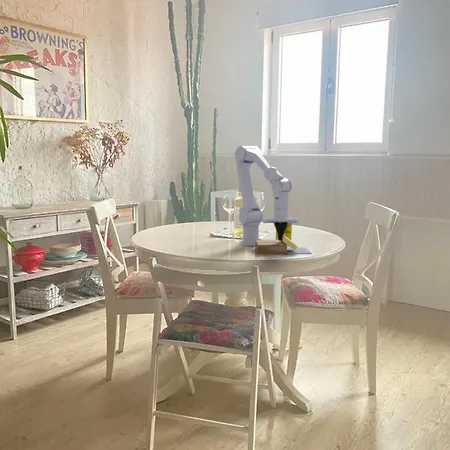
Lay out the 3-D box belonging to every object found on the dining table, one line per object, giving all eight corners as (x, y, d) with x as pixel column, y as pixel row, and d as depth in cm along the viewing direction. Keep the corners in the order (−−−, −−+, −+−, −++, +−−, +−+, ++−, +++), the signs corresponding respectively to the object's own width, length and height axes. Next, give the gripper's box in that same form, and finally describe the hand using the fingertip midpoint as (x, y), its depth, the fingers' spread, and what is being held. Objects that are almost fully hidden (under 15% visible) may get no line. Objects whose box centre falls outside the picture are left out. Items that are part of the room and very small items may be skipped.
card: (280, 238, 208) (283, 234, 207) (291, 246, 208) (294, 242, 208) (283, 241, 200) (286, 238, 200) (294, 250, 201) (297, 246, 200)
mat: (283, 248, 211) (283, 247, 211) (305, 248, 212) (305, 247, 212) (287, 253, 200) (287, 253, 200) (311, 253, 201) (311, 253, 201)
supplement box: (279, 243, 222) (279, 219, 220) (275, 240, 228) (275, 217, 226) (291, 242, 223) (292, 219, 221) (287, 240, 229) (288, 217, 227)
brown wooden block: (254, 248, 210) (255, 239, 209) (282, 248, 210) (282, 239, 210) (257, 254, 199) (258, 244, 198) (286, 254, 199) (287, 244, 199)
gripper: (264, 209, 197) (264, 241, 200) (300, 209, 198) (299, 241, 200) (262, 207, 204) (262, 238, 206) (296, 207, 205) (295, 238, 207)
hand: (280, 240), depth 204 cm, fingers closed
